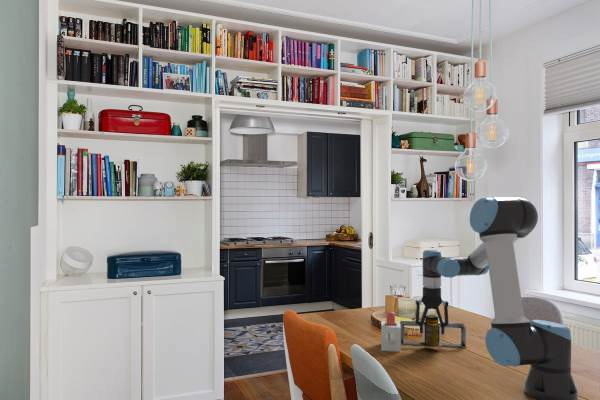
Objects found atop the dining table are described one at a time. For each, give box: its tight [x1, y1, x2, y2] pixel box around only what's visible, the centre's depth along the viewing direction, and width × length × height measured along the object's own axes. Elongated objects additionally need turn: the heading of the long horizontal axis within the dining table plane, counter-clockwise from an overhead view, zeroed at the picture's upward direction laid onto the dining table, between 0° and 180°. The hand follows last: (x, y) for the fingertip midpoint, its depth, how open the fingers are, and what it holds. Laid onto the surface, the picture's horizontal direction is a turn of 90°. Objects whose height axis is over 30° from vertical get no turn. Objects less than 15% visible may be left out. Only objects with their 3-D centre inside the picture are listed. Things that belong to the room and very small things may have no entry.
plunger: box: [385, 311, 396, 326], centre depth 204 cm, size 4×4×9 cm
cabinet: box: [380, 320, 402, 353], centre depth 203 cm, size 11×8×10 cm
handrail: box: [399, 320, 467, 349], centre depth 207 cm, size 28×3×10 cm, turn 80°
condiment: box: [417, 314, 442, 349], centre depth 201 cm, size 7×8×12 cm
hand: (431, 341), depth 201 cm, fingers closed on condiment, 6 cm apart
